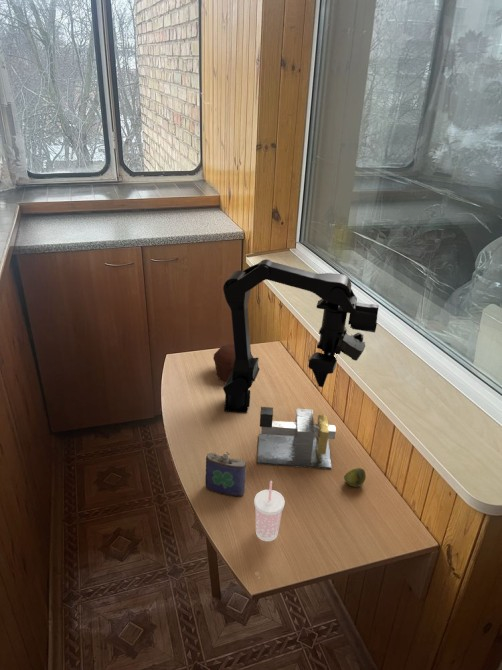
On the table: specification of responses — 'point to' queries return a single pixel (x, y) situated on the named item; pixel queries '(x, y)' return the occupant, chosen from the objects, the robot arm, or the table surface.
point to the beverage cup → (268, 513)
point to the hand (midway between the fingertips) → (325, 377)
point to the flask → (225, 475)
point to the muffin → (224, 361)
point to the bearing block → (294, 446)
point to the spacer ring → (322, 435)
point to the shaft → (285, 425)
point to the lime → (355, 477)
